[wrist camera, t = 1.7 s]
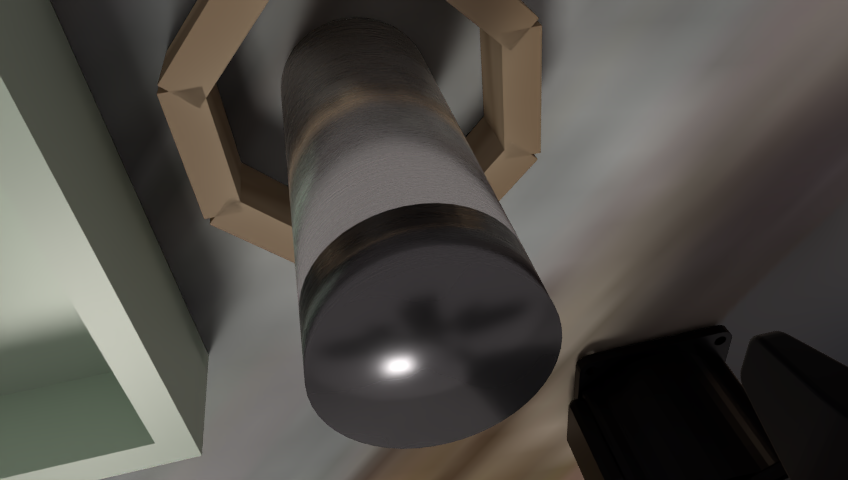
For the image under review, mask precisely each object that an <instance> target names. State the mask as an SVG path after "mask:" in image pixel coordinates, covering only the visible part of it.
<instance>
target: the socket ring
mask: <svg viewBox="0 0 848 480" xmlns="http://www.w3.org/2000/svg"><path fill="white" fill-rule="evenodd" d="M268 1H269V0H197V1H196V3H195V5H194V6H193V8H192V10H191V11H190V13H189V15H188V16H187V18H186V20H185V21H184V23H183V25H182V26H181V28H180V30H179V32H178V33H177V35H176V37H175V38H174V40H173V42H172V43H171V45H170V47H169V48H168V50H167V52H166V55H165V59H164V63H163V66H162V70H161V74H160V78H159V81H158V86H159V87H158V91H157V96H158V99H159V101H160V104H161V107H162V109H163V112H164V114H165V117H166V120H167V122H168V125H169V128H170V130H171V133H172V135H173V138H174V141H175V143H176V146H177V149H178V151H179V154H180V156H181V159H182V162H183V164H184V167H185V170H186V172H187V175H188V177H189V180H190V183H191V185H192V188H193V191H194V193H195V196H196V198H197V201H198V204H199V206H200V209H201V212H202V214H203V217H204V219H207V218H210V225H212V226H214V227H217V228H219V229H221V230H223V231H225V232H228V233H230V234H232V235H234V236H236V237H239V238H241V239H243V240H245V241H247V242H250V243H252V244H254V245H256V246H258V247H261V248H263V249H265V250H267V251H269V252H272V253H274V254H276V255H278V256H280V257H283V258H285V259H287V260H289V261H291V262H294V263H295V257H294V245H293V233H292V221H291V209H290V197H289V187H288V186H286V185H284V184H282V183H280V182H278V181H276V180H274V179H272V178H270V177H268V176H267V175H265V174H263V173H261V172H259V171H257V170H255V169H253V168H251V167H249V166H247V165H245V164H243V163H241V160H240V157H239V154H238V151H237V147H236V144H235V141H234V138H233V135H232V132H231V128H230V125H229V122H228V119H227V116H226V113H225V110H224V106H223V103H222V100H221V97H220V94H219V91H218V87H217V84H216V82H217V80H218V79H219V77H220V76H221V74H222V73H223V71H224V69H225V68H226V66H227V65H228V63H229V62H230V60H231V59H232V57H233V55H234V54H235V52H236V51H237V49H238V48H239V46H240V45H241V43H242V42H243V40H244V38H245V37H246V35H247V34H248V32H249V31H250V29H251V28H252V26H253V24H254V23H255V21H256V20H257V18H258V17H259V15H260V14H261V12H262V10H263V9H264V7H265V6H266V4H267V3H268ZM446 1H447V2H448V3H450V4H451V5H452V6H453V7H455V8H456V9H457V10H458V11H460V12H461V13H462V14H463V15H465V16H466V17H467V18H468V19H470V20H471V21H472V22H473V23H475V24H476V25H477V26H478V27H480V43H481V64H482V85H483V106H484V117H483V118H482V119H481V120H480V121H479V123H478V124H477V125H476V126H475V127H474V128H473V130H472V131H471V132H470V133H469V134H468V135H467V137H466V140H467V142H468V144H469V146H470V148H471V149H472V151H473V153H474V155H475V157H476V159H477V161H478V163H479V165H480V166H481V168H482V170H483V172H484V174H485V176H486V178H487V180H488V182H489V183H490V185H491V187H492V189H493V191H494V193H495V195H496V197H497V199H498V200H499V201H500V199H501V198H502V197H503V196H504V195H505V194H506V193H507V192H508V191H509V190H510V189H511V188H512V186H513V185H514V184H515V183H516V182H517V181H518V180H519V179H520V178H521V177H522V176H523V175H524V173H525V172H526V171H527V170H528V169H529V168H530V167H531V166H532V165H533V164H534V163H535V162H536V161H537V158H536V156H535V155H534V154H536V153H541V71H542V25H541V24H540V23H539V22H538V21H537V20H538V17H537V16H536V15H535V14H534V13H533V12H532V11H531V10H530V9H529V8H528V7H527V6H526V5H525V4H524V3H523V2H522V1H521V0H446Z"/></svg>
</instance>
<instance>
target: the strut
mask: <svg viewBox="0 0 848 480" xmlns="http://www.w3.org/2000/svg"><path fill="white" fill-rule="evenodd" d="M281 100H282V112H283V124H284V136H285V148H286V160H287V172H288V184H289V197H290V209H291V221H292V233H293V245H294V257H295V269H296V281H297V293H298V306H299V318H300V330H301V342H302V354H303V366H304V378H305V387H306V391H307V396H308V398H309V400H310V403H311V405H312V407H313V408H314V410H315V411H316V413H317V414H318V416H319V417H320V418H321V419H322V420H323V421H324V422H325V423H326V424H327V425H329V426H330V427H331V428H333V429H334V430H335V431H337V432H339V433H340V434H342V435H344V436H346V437H348V438H351V439H353V440H356V441H358V442H361V443H365V444H369V445H373V446H379V447H386V448H401V449H405V448H422V447H431V446H436V445H441V444H446V443H450V442H454V441H457V440H461V439H464V438H467V437H469V436H472V435H475V434H477V433H479V432H482V431H484V430H486V429H488V428H490V427H492V426H494V425H496V424H498V423H499V422H501V421H503V420H504V419H506V418H507V417H509V416H510V415H512V414H513V413H515V412H516V411H517V410H519V409H520V408H521V407H522V406H523V405H525V404H526V403H527V402H528V401H529V400H530V399H531V398H532V397H533V396H534V395H535V394H536V393H537V392H538V391H539V389H540V388H541V387H542V386H543V385H544V383H545V382H546V380H547V379H548V377H549V376H550V374H551V373H552V371H553V368H554V366H555V364H556V362H557V359H558V356H559V353H560V349H561V342H562V327H561V323H560V318H559V315H558V313H557V311H556V308H555V306H554V304H553V302H552V300H551V299H550V297H549V295H548V293H547V291H546V289H545V287H544V285H543V283H542V282H541V280H540V278H539V276H538V274H537V272H536V270H535V268H534V266H533V265H532V263H531V261H530V259H529V257H528V255H527V253H526V251H525V249H524V248H523V246H522V244H521V242H520V240H519V238H518V236H517V234H516V232H515V231H514V229H513V227H512V225H511V223H510V221H509V219H508V217H507V216H506V214H505V212H504V210H503V208H502V206H501V204H500V202H499V200H498V199H497V197H496V195H495V193H494V191H493V189H492V187H491V185H490V183H489V182H488V180H487V178H486V176H485V174H484V172H483V170H482V168H481V166H480V165H479V163H478V161H477V159H476V157H475V155H474V153H473V151H472V149H471V148H470V146H469V144H468V142H467V140H466V138H465V136H464V134H463V132H462V131H461V129H460V127H459V125H458V123H457V121H456V119H455V117H454V115H453V114H452V112H451V110H450V108H449V106H448V104H447V102H446V100H445V99H444V97H443V95H442V93H441V91H440V89H439V87H438V85H437V83H436V82H435V80H434V78H433V76H432V74H431V72H430V70H429V68H428V66H427V65H426V63H425V61H424V59H423V57H422V55H421V53H420V52H419V50H418V49H417V47H416V46H415V44H414V43H413V42H412V41H411V40H410V39H409V38H408V37H407V36H406V35H405V34H403V33H402V32H401V31H399V30H398V29H396V28H395V27H393V26H391V25H389V24H386V23H384V22H381V21H378V20H374V19H368V18H346V19H340V20H336V21H333V22H330V23H327V24H325V25H323V26H321V27H319V28H317V29H315V30H314V31H312V32H311V33H310V34H308V35H307V36H306V37H305V38H304V39H303V40H302V41H301V42H300V43H299V44H298V45H297V46H296V48H295V49H294V50H293V51H292V53H291V55H290V57H289V58H288V60H287V63H286V65H285V68H284V71H283V75H282V81H281Z"/></svg>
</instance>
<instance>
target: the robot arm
mask: <svg viewBox="0 0 848 480" xmlns="http://www.w3.org/2000/svg"><path fill="white" fill-rule="evenodd" d="M731 339H732V335H731V334H730V332H729V331H728V330H727V329H726V327H725V326H723V325H717V326H713V327H708V328H704V329H700V330H695V331H691V332H687V333H682V334H678V335H674V336H669V337H665V338H661V339H656V340H652V341H648V342H643V343H639V344H635V345H630V346H626V347H622V348H617V349H613V350H609V351H604V352H600V353H596V354H591V355H588V356H585V357H583V358H581V359H580V360H579V361H578V362H577V364H576V372H575V388H574V400H572V401H571V403H570V405H569V411H568V428H567V441H568V443H569V446H570V448H571V450H572V452H573V455H574V457H575V459H576V461H577V464H578V466H579V468H580V470H581V472H582V475H583V477H584V479H585V480H848V366H846V365H844V364H842V363H840V362H838V361H836V360H835V359H833V358H831V357H829V356H827V355H825V354H824V353H822V352H820V351H818V350H816V349H814V348H812V347H811V346H809V345H807V344H805V343H803V342H801V341H800V340H798V339H796V338H794V337H792V336H790V335H788V334H786V333H784V332H780V331H773V332H769V333H765V334H761V335H756V336H754V337H753V338H752V339H751V340H750V342H749V345H748V348H747V351H746V355H745V358H744V362H743V365H742V368H741V382H742V384H741V383H740V381H739V380H738V379H737V377H736V376H735V375H734V373H733V372H732V371H731V369H729V367H728V366H727V364H726V363H725V361H726V357H727V354H728V350H729V346H730V343H731Z"/></svg>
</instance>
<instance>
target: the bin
mask: <svg viewBox="0 0 848 480" xmlns="http://www.w3.org/2000/svg"><path fill="white" fill-rule="evenodd" d="M208 359H209V355H208V353H207V351H206V349H205V346H204V344H203V342H202V340H201V337H200V335H199V333H198V331H197V329H196V326H195V324H194V322H193V320H192V317H191V315H190V313H189V311H188V308H187V306H186V304H185V302H184V299H183V297H182V295H181V293H180V291H179V288H178V286H177V284H176V282H175V279H174V277H173V275H172V273H171V270H170V268H169V266H168V264H167V261H166V259H165V257H164V255H163V253H162V250H161V248H160V246H159V244H158V241H157V239H156V237H155V235H154V232H153V230H152V228H151V226H150V223H149V221H148V219H147V217H146V215H145V212H144V210H143V208H142V206H141V203H140V201H139V199H138V197H137V194H136V192H135V190H134V188H133V185H132V183H131V181H130V179H129V177H128V174H127V172H126V170H125V168H124V165H123V163H122V161H121V159H120V156H119V154H118V152H117V150H116V147H115V145H114V143H113V141H112V139H111V136H110V134H109V132H108V130H107V127H106V125H105V123H104V121H103V118H102V116H101V114H100V112H99V109H98V107H97V105H96V103H95V101H94V98H93V96H92V94H91V92H90V89H89V87H88V85H87V83H86V80H85V78H84V76H83V74H82V71H81V69H80V67H79V65H78V63H77V60H76V58H75V56H74V54H73V51H72V49H71V47H70V45H69V42H68V40H67V38H66V36H65V33H64V31H63V29H62V27H61V25H60V22H59V20H58V18H57V16H56V13H55V11H54V9H53V7H52V4H51V2H50V0H0V480H99V479H103V478H107V477H112V476H116V475H120V474H125V473H129V472H133V471H138V470H142V469H146V468H150V467H155V466H159V465H163V464H168V463H172V462H176V461H181V460H185V459H189V458H193V457H198V456H202V446H203V431H204V417H205V402H206V388H207V373H208Z"/></svg>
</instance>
